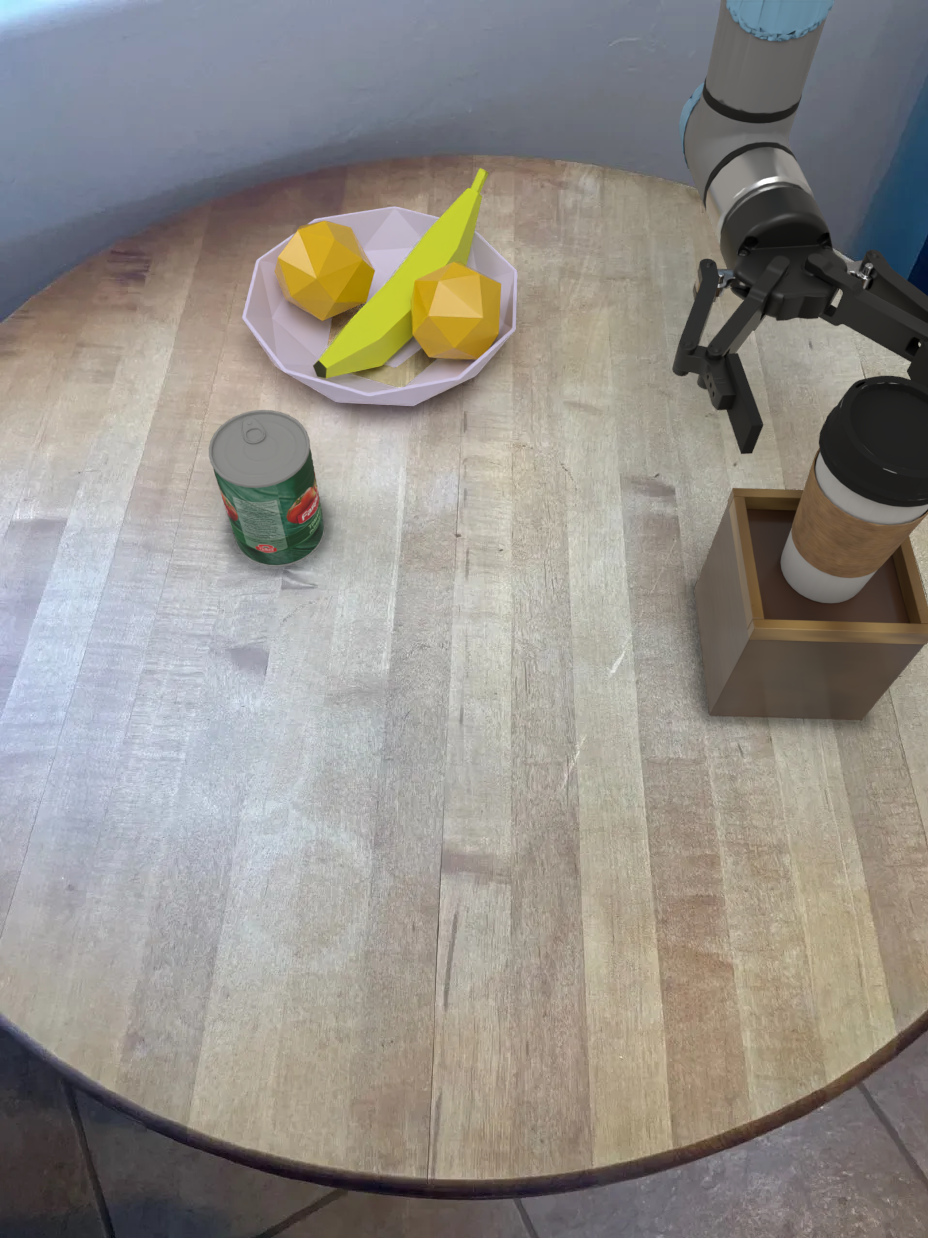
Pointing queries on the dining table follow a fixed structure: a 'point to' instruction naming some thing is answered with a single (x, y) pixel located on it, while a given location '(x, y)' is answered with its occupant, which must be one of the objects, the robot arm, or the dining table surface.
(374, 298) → the fruit bowl
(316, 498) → the canned tomato
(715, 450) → the dining table surface
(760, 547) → the box
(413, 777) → the dining table surface
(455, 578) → the dining table surface
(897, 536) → the coffee cup
